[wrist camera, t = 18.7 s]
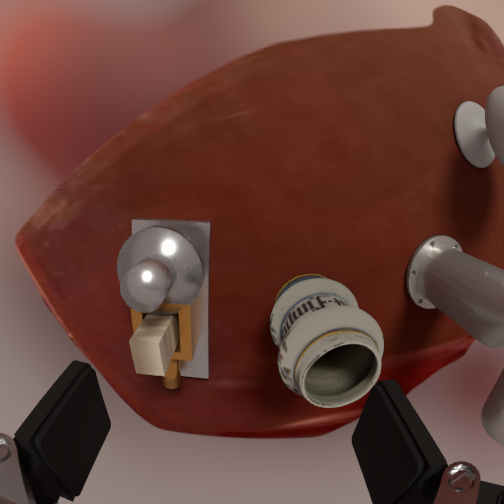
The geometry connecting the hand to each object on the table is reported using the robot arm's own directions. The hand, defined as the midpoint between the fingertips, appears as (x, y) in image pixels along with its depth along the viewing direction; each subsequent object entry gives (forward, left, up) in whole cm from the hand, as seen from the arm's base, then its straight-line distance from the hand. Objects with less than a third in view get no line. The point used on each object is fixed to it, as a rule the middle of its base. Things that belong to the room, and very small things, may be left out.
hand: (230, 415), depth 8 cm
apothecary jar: (-10, +10, -32) cm, 35 cm away
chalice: (-39, -21, -32) cm, 55 cm away
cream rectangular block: (+10, +12, -31) cm, 35 cm away
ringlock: (+10, +12, -32) cm, 36 cm away
